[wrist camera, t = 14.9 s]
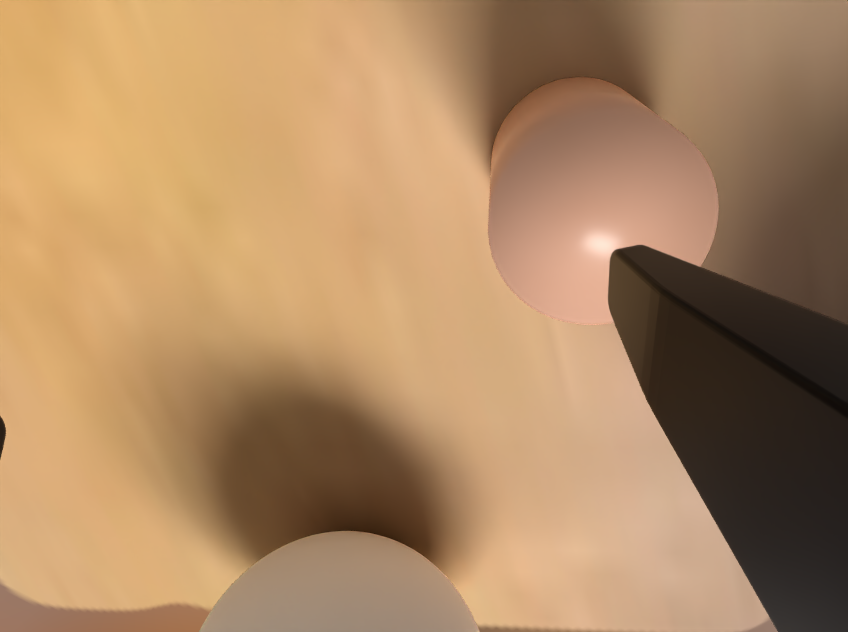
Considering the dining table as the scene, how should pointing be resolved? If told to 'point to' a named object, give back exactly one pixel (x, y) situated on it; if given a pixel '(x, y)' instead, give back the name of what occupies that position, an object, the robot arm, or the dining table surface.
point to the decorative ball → (341, 590)
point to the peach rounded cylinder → (591, 194)
